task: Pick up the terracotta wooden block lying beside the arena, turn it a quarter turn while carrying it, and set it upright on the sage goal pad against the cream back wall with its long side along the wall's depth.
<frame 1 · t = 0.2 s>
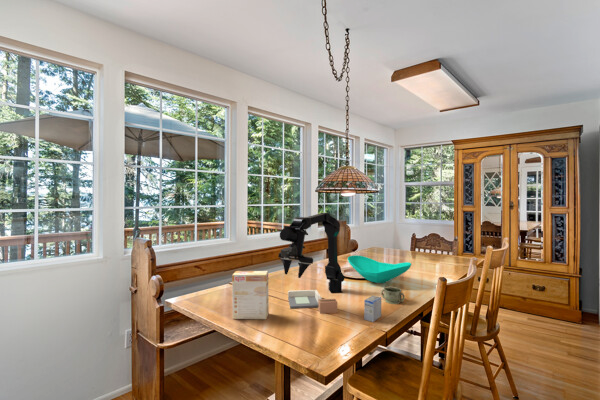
hand: (292, 276, 146), 15 cm above the table, tool pointing down, fingers open, 9 cm apart
arena: (304, 302, 154), on the table
table top decor: (377, 282, 190), on the table
coffeecake box: (250, 316, 137), on the table
terracotta block: (327, 311, 143), on the table
medicine box: (372, 318, 135), on the table
vessel: (392, 301, 155), on the table
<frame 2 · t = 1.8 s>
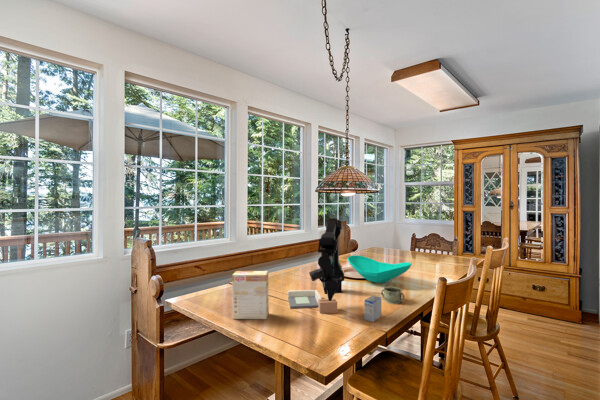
hand: (327, 297, 143), 6 cm above the table, tool pointing down, fingers open, 9 cm apart
nothing on the table moved.
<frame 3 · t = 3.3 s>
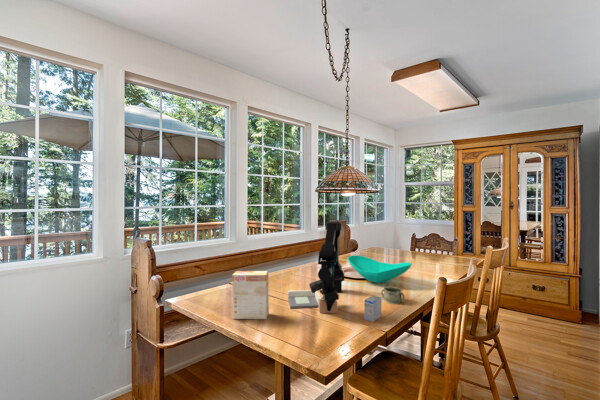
hand: (327, 308, 143), 1 cm above the table, tool pointing down, fingers closed on terracotta block, 4 cm apart
terracotta block: (327, 311, 143), on the table, touching gripper
everything else where it was.
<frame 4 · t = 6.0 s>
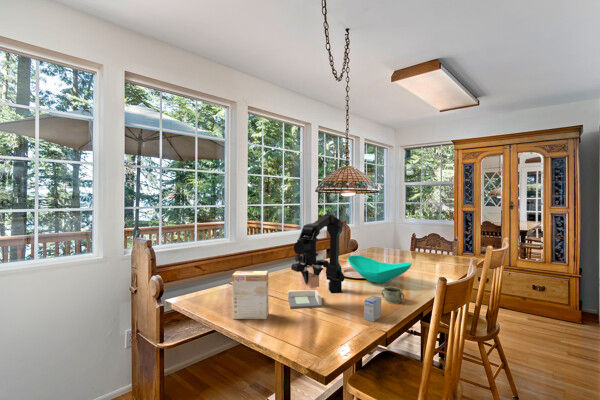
hand: (310, 283, 150), 11 cm above the table, tool pointing down, fingers closed on terracotta block, 4 cm apart
terracotta block: (310, 285, 150), point 10 cm above the table, touching gripper
everything else where it was.
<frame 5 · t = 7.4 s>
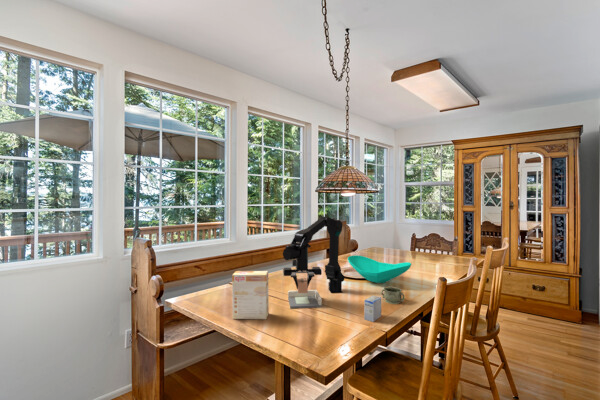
hand: (302, 288, 154), 7 cm above the table, tool pointing down, fingers closed on terracotta block, 4 cm apart
terracotta block: (302, 290, 154), point 6 cm above the table, touching gripper
everything else where it was.
when the fingers open (3 cm above the table, at t = 8.8 s): terracotta block drops 1 cm, resting on arena.
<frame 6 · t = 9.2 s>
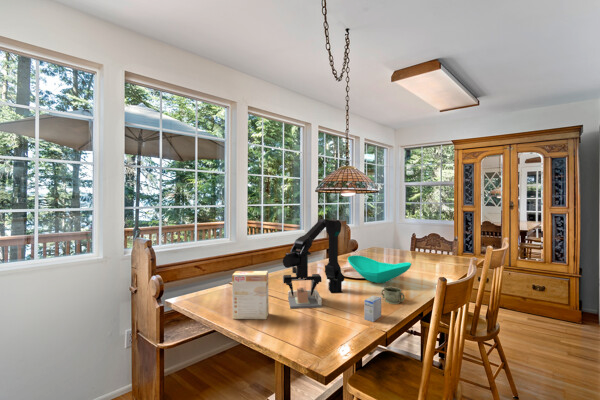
hand: (302, 295, 154), 3 cm above the table, tool pointing down, fingers open, 9 cm apart
terracotta block: (302, 300, 154), point 1 cm above the table, touching arena
everything else where it was.
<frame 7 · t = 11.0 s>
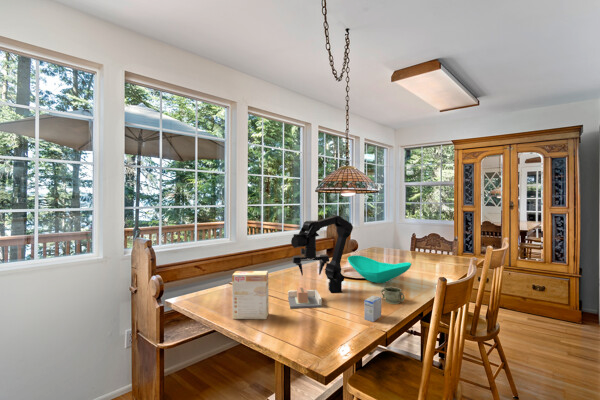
hand: (310, 275, 161), 12 cm above the table, tool pointing down, fingers open, 9 cm apart
nothing on the table moved.
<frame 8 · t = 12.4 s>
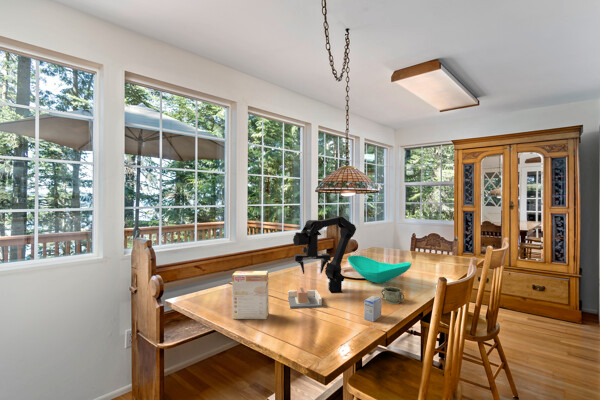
hand: (312, 273, 163), 12 cm above the table, tool pointing down, fingers open, 9 cm apart
nothing on the table moved.
at the end: terracotta block 0.0 cm from the target spot on the arena, point 1.2 cm above the arena's base; terracotta block tilted 0°; the gripper is holding nothing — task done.
